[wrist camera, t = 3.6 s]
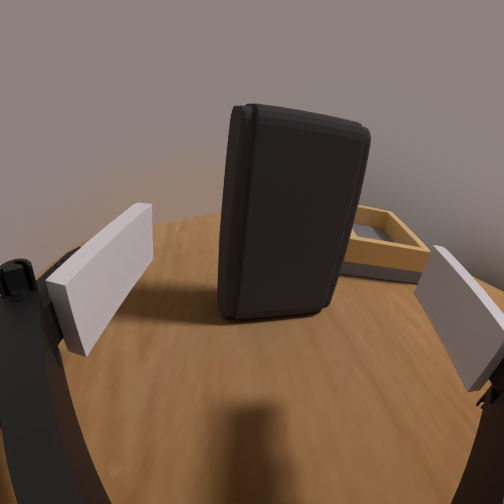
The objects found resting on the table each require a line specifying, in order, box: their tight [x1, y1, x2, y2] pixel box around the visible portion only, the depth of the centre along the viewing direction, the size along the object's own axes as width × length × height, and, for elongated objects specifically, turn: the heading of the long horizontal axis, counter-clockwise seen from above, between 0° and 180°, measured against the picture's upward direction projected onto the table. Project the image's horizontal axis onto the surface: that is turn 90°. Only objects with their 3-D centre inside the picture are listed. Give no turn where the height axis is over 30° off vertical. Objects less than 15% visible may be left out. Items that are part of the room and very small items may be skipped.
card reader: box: [217, 104, 371, 320], centre depth 21 cm, size 9×4×15 cm, turn 105°
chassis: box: [340, 205, 430, 284], centre depth 36 cm, size 20×14×4 cm
